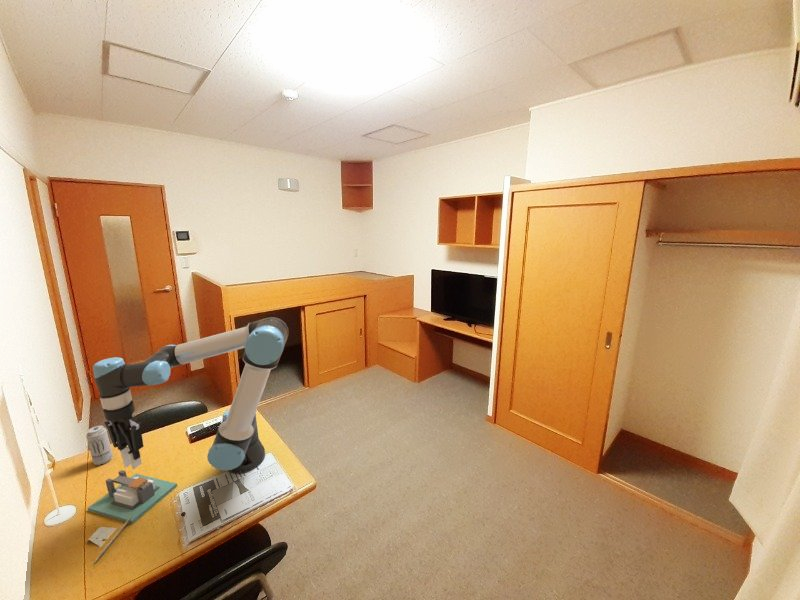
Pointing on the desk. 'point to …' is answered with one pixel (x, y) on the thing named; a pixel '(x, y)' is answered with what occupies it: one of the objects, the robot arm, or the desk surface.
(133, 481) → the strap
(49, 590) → the desk surface
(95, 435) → the energy drink can
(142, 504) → the socket board
